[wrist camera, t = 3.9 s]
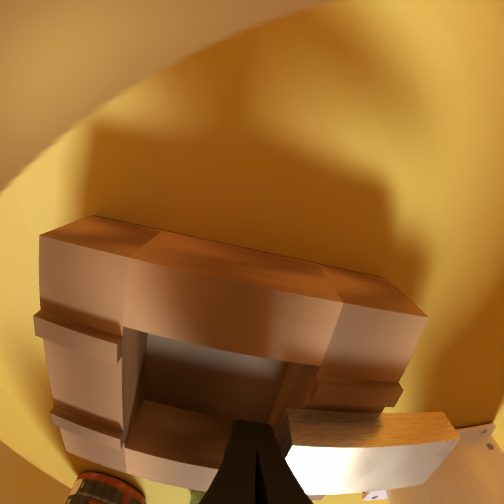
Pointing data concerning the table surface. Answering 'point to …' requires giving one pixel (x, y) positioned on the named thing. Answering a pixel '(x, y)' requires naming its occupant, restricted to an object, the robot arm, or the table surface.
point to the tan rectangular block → (363, 449)
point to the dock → (204, 344)
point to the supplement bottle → (102, 491)
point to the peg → (196, 496)
